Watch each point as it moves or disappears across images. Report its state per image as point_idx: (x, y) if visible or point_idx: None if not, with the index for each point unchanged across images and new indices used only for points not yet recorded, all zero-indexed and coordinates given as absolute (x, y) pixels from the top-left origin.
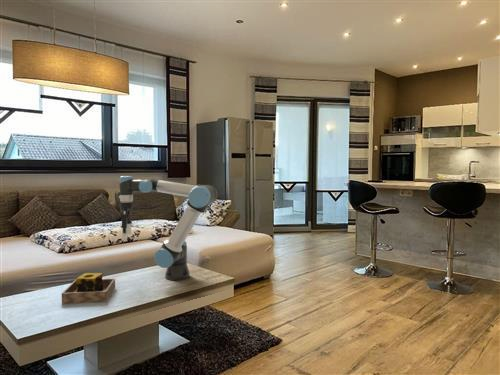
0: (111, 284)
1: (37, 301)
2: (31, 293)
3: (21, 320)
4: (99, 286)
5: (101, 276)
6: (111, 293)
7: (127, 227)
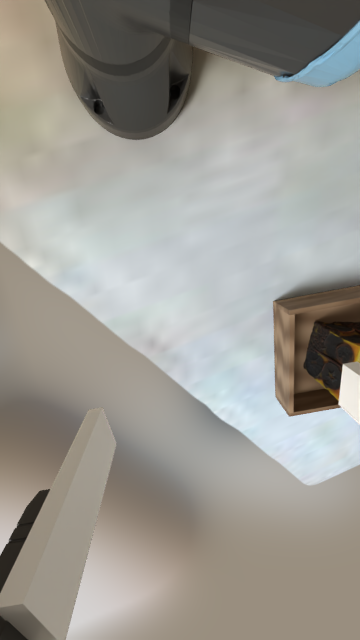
0: (348, 298)
1: (344, 430)
2: (290, 462)
3: None
4: (354, 329)
5: (356, 343)
6: (329, 291)
7: (85, 535)
